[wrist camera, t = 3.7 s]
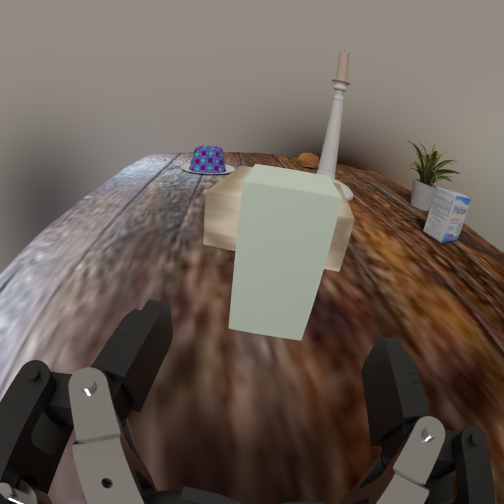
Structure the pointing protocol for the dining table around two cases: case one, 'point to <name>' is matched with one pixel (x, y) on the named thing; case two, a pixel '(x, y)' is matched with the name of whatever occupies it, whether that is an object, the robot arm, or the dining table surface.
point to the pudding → (208, 161)
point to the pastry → (308, 160)
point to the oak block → (228, 210)
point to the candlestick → (335, 126)
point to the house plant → (426, 179)
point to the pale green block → (281, 249)
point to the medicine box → (446, 215)
